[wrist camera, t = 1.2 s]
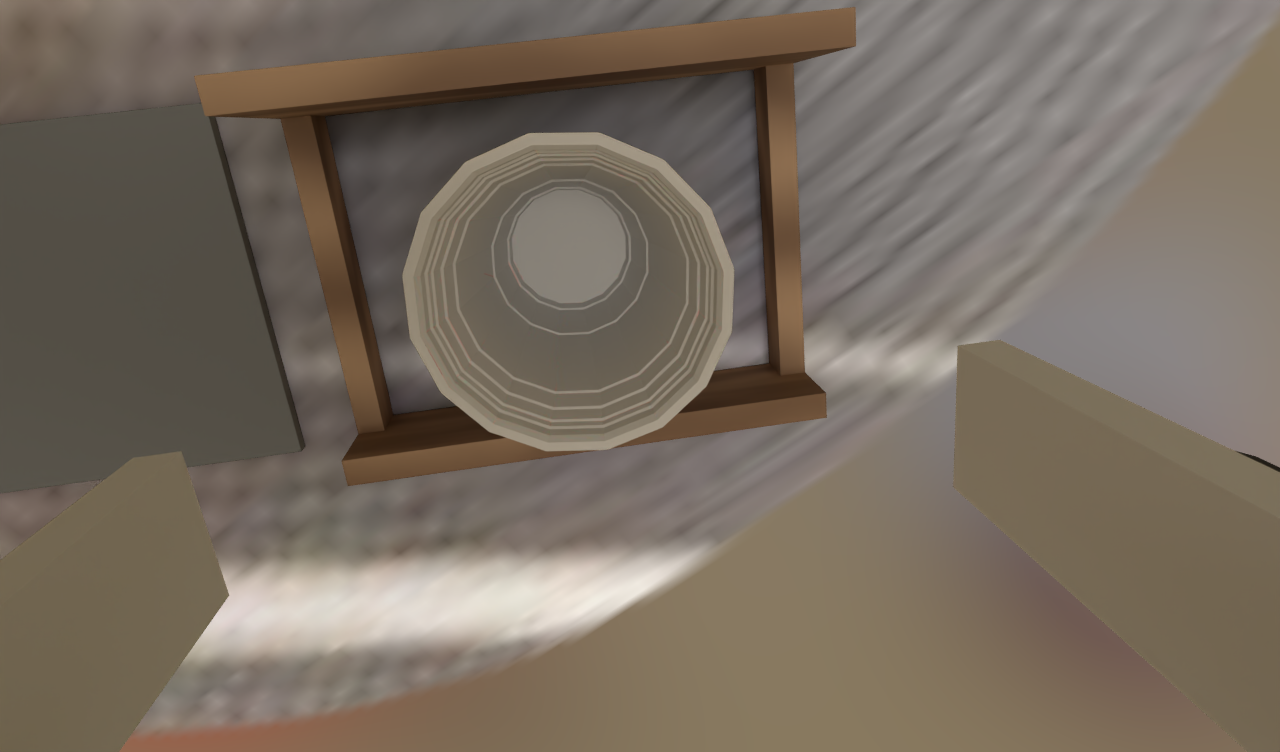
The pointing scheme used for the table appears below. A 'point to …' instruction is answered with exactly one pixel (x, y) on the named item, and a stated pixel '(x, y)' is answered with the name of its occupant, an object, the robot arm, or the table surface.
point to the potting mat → (129, 302)
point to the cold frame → (529, 69)
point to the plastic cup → (569, 291)
